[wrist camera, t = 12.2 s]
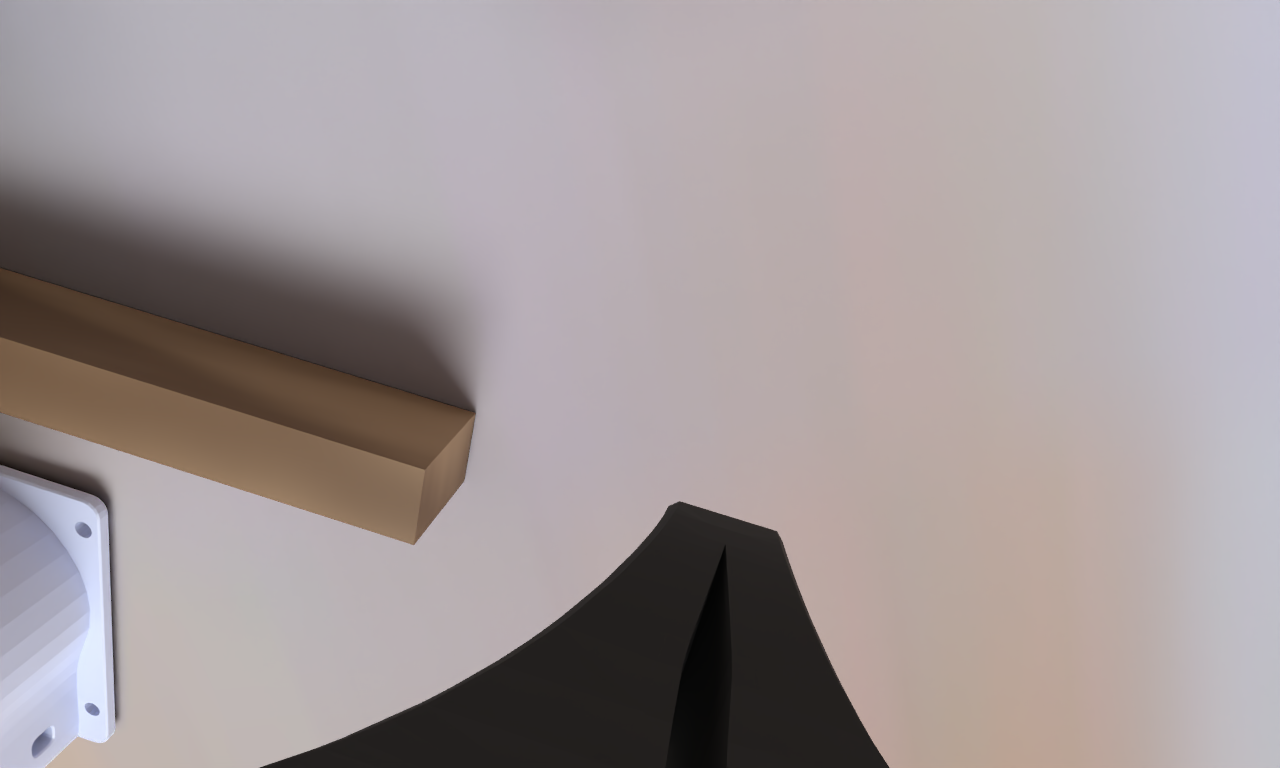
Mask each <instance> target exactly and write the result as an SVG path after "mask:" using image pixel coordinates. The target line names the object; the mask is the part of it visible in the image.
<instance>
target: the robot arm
mask: <svg viewBox="0 0 1280 768" xmlns="http://www.w3.org/2000/svg"><path fill="white" fill-rule="evenodd" d="M114 733H115V703H114V674H113V645H112V616H111V587H110V558H109V529H108V512H107V508H106V506H105V504H104V503H103V502H102V501H101V500H100V499H99V498H98V497H96V496H94V495H91V494H88V493H85V492H82V491H79V490H76V489H73V488H70V487H67V486H64V485H61V484H58V483H55V482H52V481H48V480H45V479H42V478H39V477H36V476H33V475H30V474H27V473H24V472H21V471H18V470H15V469H12V468H9V467H6V466H2V465H0V768H45V767H46V766H47V765H48V764H49V763H50V762H51V761H52V760H53V759H54V758H55V757H56V756H57V755H58V754H59V753H60V752H61V751H63V750H64V749H65V748H66V747H67V746H68V745H69V744H70V743H71V742H72V741H73V740H74V739H75V738H76V737H77V736H79V737H81V738H84V739H87V740H90V741H93V742H97V743H102V742H105V741H106V740H108V739H109V738H110V737H111V736H112V735H113V734H114ZM260 768H889V766H888V765H887V763H886V762H885V760H884V759H883V757H882V756H881V754H880V753H879V751H878V749H877V748H876V746H875V745H874V743H873V742H872V740H871V738H870V736H869V735H868V733H867V731H866V729H865V728H864V726H863V724H862V722H861V721H860V719H859V717H858V715H857V713H856V711H855V709H854V708H853V706H852V704H851V702H850V700H849V698H848V696H847V694H846V693H845V691H844V689H843V687H842V685H841V683H840V681H839V679H838V677H837V675H836V673H835V671H834V669H833V667H832V665H831V663H830V661H829V658H828V656H827V654H826V652H825V649H824V647H823V645H822V643H821V641H820V638H819V636H818V634H817V632H816V629H815V627H814V625H813V623H812V620H811V618H810V616H809V613H808V611H807V608H806V606H805V603H804V601H803V598H802V596H801V593H800V591H799V588H798V585H797V583H796V580H795V577H794V575H793V572H792V569H791V566H790V563H789V560H788V557H787V554H786V551H785V548H784V545H783V542H782V540H781V538H780V536H779V534H778V532H777V531H774V530H771V529H768V528H765V527H761V526H758V525H755V524H752V523H748V522H745V521H742V520H739V519H735V518H732V517H729V516H726V515H722V514H719V513H716V512H713V511H709V510H706V509H703V508H700V507H696V506H693V505H690V504H687V503H683V502H680V501H679V502H677V503H675V504H673V505H670V506H668V508H667V510H666V512H665V514H664V516H663V517H662V519H661V520H660V522H659V523H658V524H657V526H656V527H655V528H654V530H653V531H652V532H651V533H650V534H649V536H648V537H647V538H646V539H645V540H644V541H643V542H642V544H641V545H640V546H639V547H638V548H637V549H636V550H635V551H634V552H633V553H632V554H631V555H630V556H629V557H628V558H627V559H626V560H625V561H624V562H623V563H622V564H621V565H620V566H619V567H618V568H617V569H616V570H615V571H614V572H613V573H612V574H611V575H610V576H609V577H608V578H607V579H606V580H605V581H604V582H603V583H601V584H600V585H599V586H598V587H597V588H596V589H594V590H593V591H592V592H591V593H590V594H588V595H587V596H586V597H585V598H584V599H582V600H581V601H580V602H579V603H578V604H576V605H575V606H574V607H573V608H571V609H570V610H569V611H568V612H567V613H565V614H564V615H563V616H562V617H560V618H559V619H558V620H557V621H555V622H554V623H552V624H551V625H550V626H548V627H547V628H546V629H544V630H543V631H542V632H540V633H539V634H537V635H536V636H534V637H533V638H532V639H530V640H529V641H527V642H526V643H524V644H523V645H521V646H520V647H518V648H517V649H515V650H514V651H512V652H511V653H509V654H507V655H506V656H504V657H503V658H501V659H500V660H498V661H496V662H495V663H493V664H491V665H489V666H488V667H486V668H484V669H482V670H481V671H479V672H477V673H476V674H474V675H472V676H470V677H469V678H467V679H465V680H463V681H462V682H460V683H458V684H456V685H455V686H453V687H451V688H449V689H447V690H445V691H443V692H442V693H440V694H438V695H436V696H434V697H432V698H430V699H428V700H426V701H424V702H422V703H420V704H418V705H416V706H413V707H411V708H409V709H407V710H404V711H402V712H400V713H398V714H395V715H393V716H391V717H389V718H386V719H384V720H382V721H380V722H378V723H375V724H373V725H371V726H369V727H366V728H364V729H362V730H360V731H357V732H355V733H353V734H351V735H348V736H346V737H344V738H341V739H339V740H336V741H334V742H331V743H329V744H326V745H324V746H321V747H319V748H316V749H313V750H310V751H307V752H304V753H301V754H298V755H295V756H292V757H290V758H287V759H284V760H281V761H278V762H275V763H272V764H269V765H266V766H263V767H260Z"/></svg>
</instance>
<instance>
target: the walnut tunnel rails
mask: <svg viewBox="0 0 1280 768" xmlns="http://www.w3.org/2000/svg"><path fill="white" fill-rule="evenodd" d="M0 412H1V413H4V414H7V415H10V416H13V417H16V418H19V419H23V420H26V421H29V422H32V423H35V424H38V425H41V426H44V427H48V428H51V429H54V430H57V431H60V432H63V433H66V434H69V435H72V436H76V437H79V438H82V439H85V440H88V441H91V442H94V443H97V444H101V445H104V446H107V447H110V448H113V449H116V450H119V451H122V452H125V453H129V454H132V455H135V456H138V457H141V458H144V459H147V460H150V461H154V462H157V463H160V464H163V465H166V466H169V467H172V468H175V469H178V470H182V471H185V472H188V473H191V474H194V475H197V476H200V477H203V478H207V479H210V480H213V481H216V482H219V483H222V484H225V485H228V486H231V487H235V488H238V489H241V490H244V491H247V492H250V493H253V494H256V495H260V496H263V497H266V498H269V499H272V500H275V501H278V502H281V503H284V504H288V505H291V506H294V507H297V508H300V509H303V510H306V511H309V512H313V513H316V514H319V515H322V516H325V517H328V518H331V519H334V520H337V521H341V522H344V523H347V524H350V525H353V526H356V527H359V528H362V529H366V530H369V531H372V532H375V533H378V534H381V535H384V536H387V537H390V538H394V539H397V540H400V541H403V542H406V543H409V544H412V545H414V544H415V543H416V542H417V540H418V539H419V538H420V537H421V535H422V534H423V533H424V532H425V530H426V529H427V528H428V526H429V525H430V524H431V523H432V521H433V520H434V519H435V518H436V516H437V515H438V514H439V512H440V511H441V510H442V509H443V507H444V506H445V505H446V504H447V502H448V501H449V500H450V498H451V497H452V496H453V495H454V493H455V492H456V491H457V489H458V488H459V487H460V486H461V484H462V483H463V482H464V479H465V473H466V467H467V461H468V455H469V450H470V444H471V438H472V432H473V426H474V420H475V414H476V413H474V412H471V411H467V410H464V409H461V408H457V407H454V406H451V405H448V404H444V403H441V402H438V401H434V400H431V399H428V398H425V397H421V396H418V395H415V394H412V393H408V392H405V391H402V390H398V389H395V388H392V387H389V386H385V385H382V384H379V383H376V382H372V381H369V380H366V379H362V378H359V377H356V376H353V375H349V374H346V373H343V372H339V371H336V370H333V369H330V368H326V367H323V366H320V365H317V364H313V363H310V362H307V361H303V360H300V359H297V358H294V357H290V356H287V355H284V354H281V353H277V352H274V351H271V350H267V349H264V348H261V347H258V346H254V345H251V344H248V343H245V342H241V341H238V340H235V339H231V338H228V337H225V336H222V335H218V334H215V333H212V332H208V331H205V330H202V329H199V328H195V327H192V326H189V325H186V324H182V323H179V322H176V321H172V320H169V319H166V318H163V317H159V316H156V315H153V314H150V313H146V312H143V311H140V310H136V309H133V308H130V307H127V306H123V305H120V304H117V303H113V302H110V301H107V300H104V299H100V298H97V297H94V296H91V295H87V294H84V293H81V292H77V291H74V290H71V289H68V288H64V287H61V286H58V285H55V284H51V283H48V282H45V281H41V280H38V279H35V278H32V277H28V276H25V275H22V274H19V273H15V272H12V271H9V270H5V269H2V268H0Z"/></svg>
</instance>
